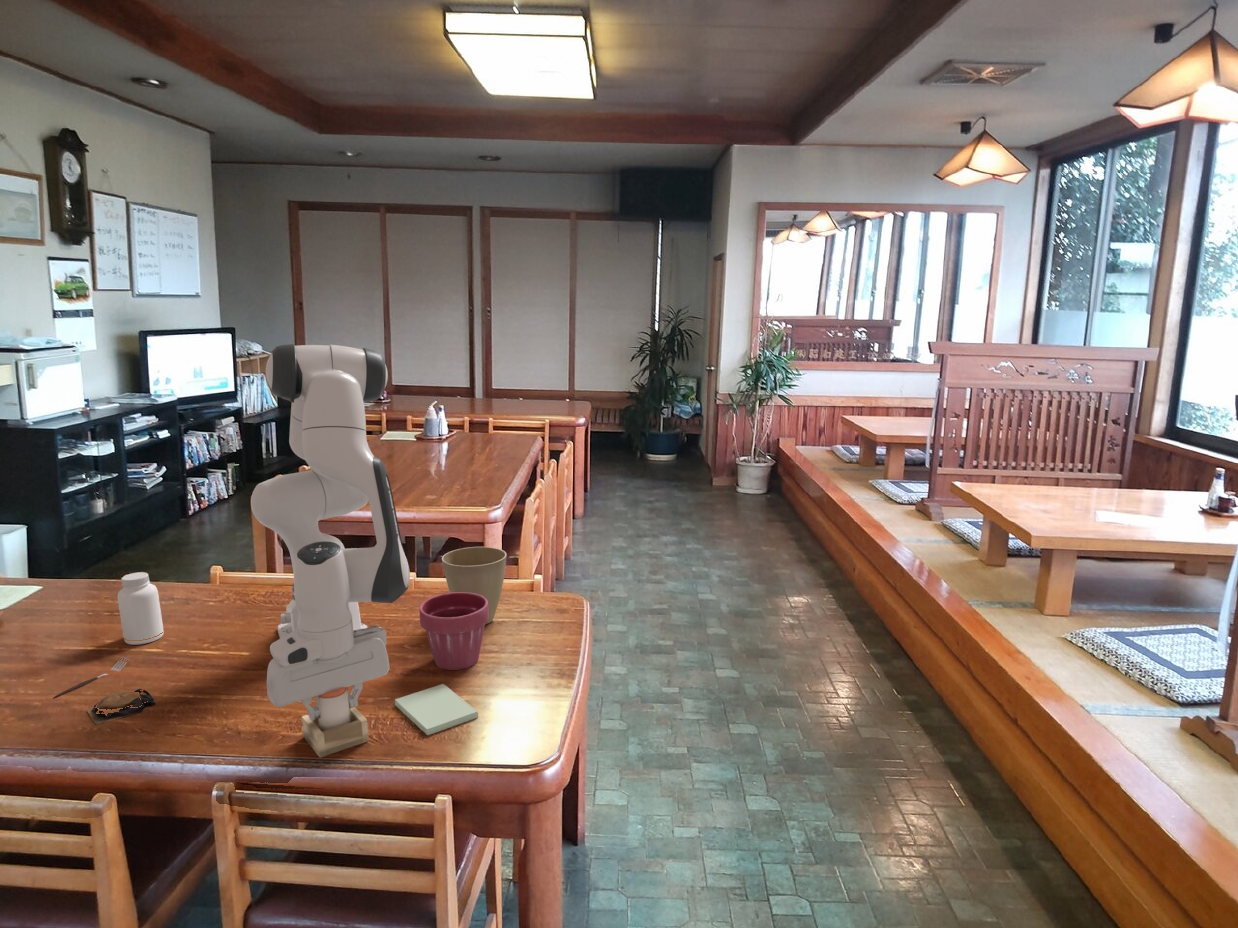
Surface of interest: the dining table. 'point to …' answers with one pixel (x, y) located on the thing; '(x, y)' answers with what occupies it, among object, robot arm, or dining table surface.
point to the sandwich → (121, 705)
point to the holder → (336, 734)
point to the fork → (91, 679)
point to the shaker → (333, 709)
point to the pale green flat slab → (436, 709)
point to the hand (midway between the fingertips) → (333, 712)
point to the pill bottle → (139, 609)
